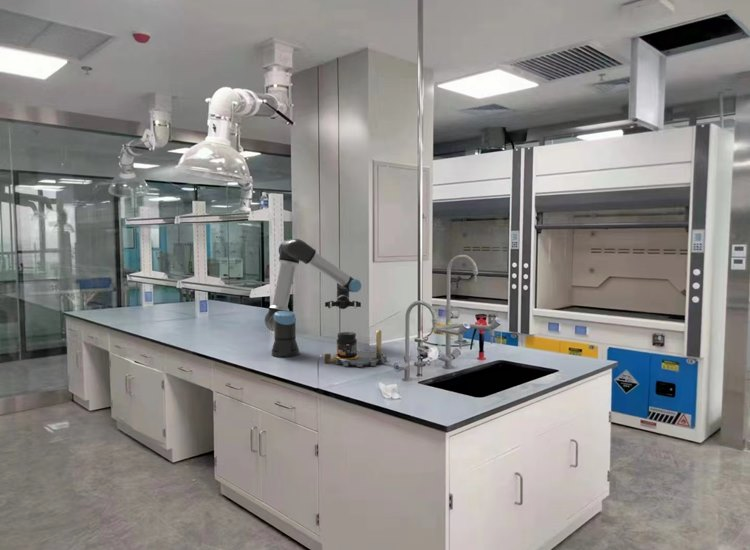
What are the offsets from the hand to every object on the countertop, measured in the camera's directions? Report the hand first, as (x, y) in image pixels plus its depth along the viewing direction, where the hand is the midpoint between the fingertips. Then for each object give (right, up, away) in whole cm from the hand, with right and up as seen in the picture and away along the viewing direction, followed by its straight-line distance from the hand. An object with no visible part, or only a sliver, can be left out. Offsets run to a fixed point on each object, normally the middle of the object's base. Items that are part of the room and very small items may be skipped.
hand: (343, 306), depth 287 cm
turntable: (+10, -28, -18) cm, 34 cm away
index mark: (-7, -28, -19) cm, 35 cm away
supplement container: (+3, -25, -19) cm, 31 cm away
